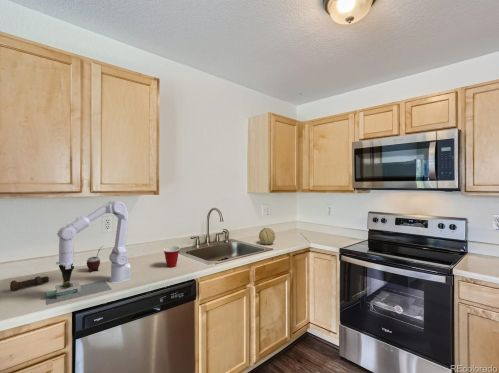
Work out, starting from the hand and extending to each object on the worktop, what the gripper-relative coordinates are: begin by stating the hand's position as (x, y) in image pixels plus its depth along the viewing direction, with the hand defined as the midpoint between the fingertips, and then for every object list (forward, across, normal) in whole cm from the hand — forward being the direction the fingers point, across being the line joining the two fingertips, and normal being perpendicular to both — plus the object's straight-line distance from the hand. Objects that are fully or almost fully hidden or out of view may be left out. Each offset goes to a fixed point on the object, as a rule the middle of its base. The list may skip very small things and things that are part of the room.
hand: (66, 280), depth 124 cm
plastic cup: (+7, -9, +57) cm, 58 cm away
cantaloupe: (+7, -14, +149) cm, 150 cm away
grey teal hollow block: (+7, 0, -1) cm, 7 cm away
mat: (+7, 0, +5) cm, 9 cm away
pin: (+3, 0, 0) cm, 3 cm away
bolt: (+8, -23, -13) cm, 28 cm away
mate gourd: (+7, -31, +17) cm, 36 cm away
